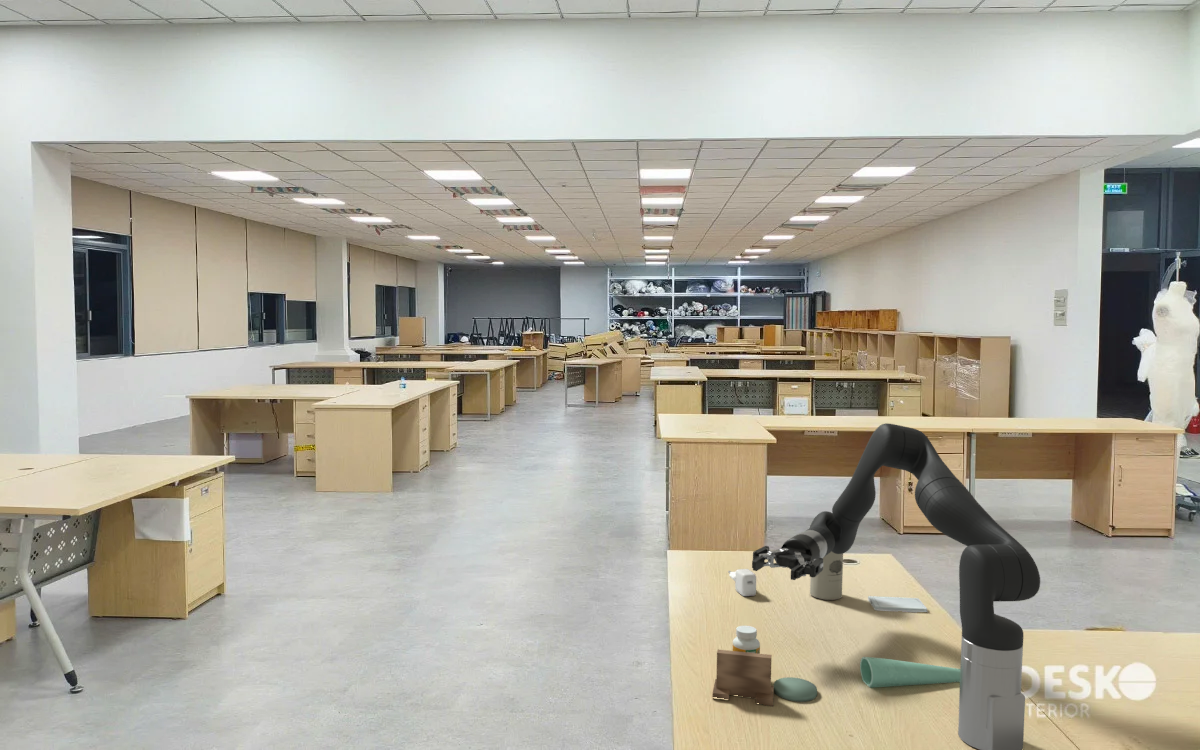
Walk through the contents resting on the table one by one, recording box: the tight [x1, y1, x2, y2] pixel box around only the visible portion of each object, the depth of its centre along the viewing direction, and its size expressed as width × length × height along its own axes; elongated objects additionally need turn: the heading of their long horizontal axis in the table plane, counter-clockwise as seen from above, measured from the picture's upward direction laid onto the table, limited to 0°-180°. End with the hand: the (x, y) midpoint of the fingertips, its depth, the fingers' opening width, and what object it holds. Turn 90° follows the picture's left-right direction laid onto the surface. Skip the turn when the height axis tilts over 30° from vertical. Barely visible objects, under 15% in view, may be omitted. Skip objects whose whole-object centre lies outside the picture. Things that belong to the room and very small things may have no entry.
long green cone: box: [859, 656, 960, 688], centre depth 156 cm, size 5×6×27 cm
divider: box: [711, 649, 775, 707], centre depth 149 cm, size 11×6×8 cm, turn 77°
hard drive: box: [867, 595, 928, 613], centre depth 199 cm, size 2×8×12 cm
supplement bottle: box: [732, 625, 761, 654], centre depth 157 cm, size 5×5×10 cm
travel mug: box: [809, 551, 844, 601], centre depth 205 cm, size 8×8×18 cm
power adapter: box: [727, 568, 757, 597], centre depth 209 cm, size 11×5×6 cm, turn 13°
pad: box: [773, 676, 818, 703], centre depth 151 cm, size 8×8×1 cm
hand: (773, 570), depth 165 cm, fingers open, 8 cm apart
